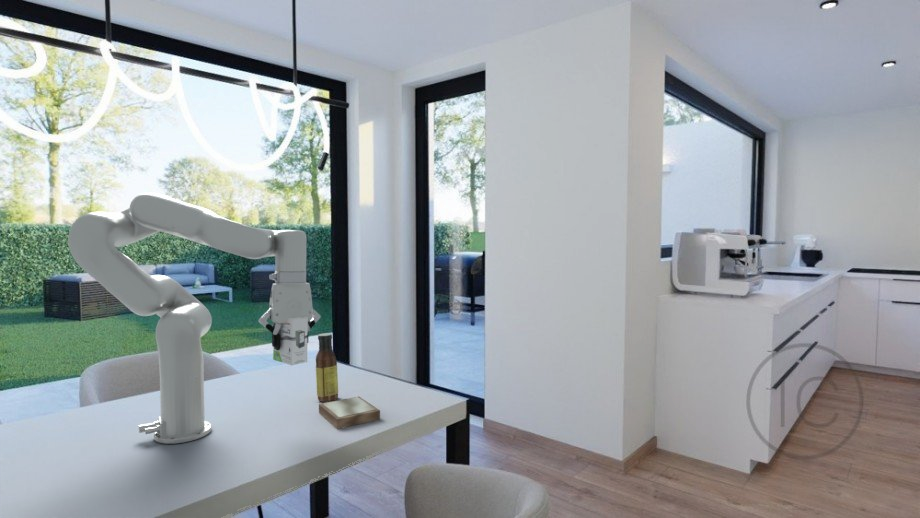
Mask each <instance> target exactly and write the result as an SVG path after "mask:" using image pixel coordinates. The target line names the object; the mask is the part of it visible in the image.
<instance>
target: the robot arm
mask: <svg viewBox="0 0 920 518" xmlns="http://www.w3.org/2000/svg"><path fill="white" fill-rule="evenodd" d="M160 232H161V233H165V234H167V235H172V236H176V237H179V238H181V239H185V240H188V241H191V242H194V243H197V244H199V245H203V246H208V247H210V248H213V249H216V250H219V251H222V252H225V253H229V254H232V255H236V256H239V257H242V258H246V259H250V260H260V259H264V258H269V257H274V259H275V260H274V261H275V265H274V268H275V270H274V273H270V274H269V275H268V276H269V280H272V281H274V282H275V283H272V285H271V290H270V296H269V304H268V305H269V306H268V310H267V311H265V312H264V313H263V315H261V316H260V318H259V319H258V322H259V324H261V325H262V326H263V327H264V328H265V329H266V330H268V331H269V332H270V333H271V346H272V348H273V347H274V349H276V350H280V335H279V329H280V327H281V324H286V323H287V319H289V318H298V317H307V318H308V334H307V344H309V332H311V329H312V328H313V327H314V326H315V325H316V324H317V322H318V321H319V320H320V319H321V317H322V316H321V314H320V313H318V312H317V311H316V310H315V309H314V308H313V299H312V298H313V297H312V289H311V285H310V282H307V235H306V234H307V233H306V232H305V231H304V230H299V229H280V230H275V229H266V228H261V227H253V226H249V225H248V224H244V223H240V222H237V221H233V220H230V219H227V218H225V217H222V216H220V215H218V214H216V213H214V212H213V211H212V210H209V209H207V208H204V207H201V206H198V205H194V204H191V203H187V202H184V201H181V200H178V199H175V198H172V197H171V196H168V195H165V194H162V193H161V194H160V193H157V192H156V193H155V192H144V193H143V192H142V193H139V194H138V195H136V196H135V197H134V198H133V199H132V201H130V204H129V207H127V208H126V209H123V210H121V211H118V212H107V211H94V212H88V213H85V214H83V215H80V216H79V217H78V218H76V219H75V220H74V222H73V223H72V224H71V226H70V229H69V231H68V238H67V240H68V241H67V242H68V248H69V252H70V254H71V256H72V258H73V260H74V261H75V262H76V264H77V265H78V266H79V267H80V268H81V269H82V270H83V271H84V272H85V273H86V274H88V276H90V277H92V278H93V280H95V281H96V282H97V283H99V284H100V285H101V286H102V287H103V288H104V289H105V290H106V291H107V292H108V293H110V294H111V295H112V296H113V297H115V299H117V300H118V301H119V302H120V303H121V304H123V305H124V306H125V308H127V309H128V310H129V311H130V312H132V313H133V314H135V315H138V316H141V317H149V316H153V315H157V316H158V317H159V320H158V321H157V324H156V327H155V340H156V342H155V343H156V347H157V351H158V366H159V367H158V368H159V391H160V392H159V393H160V394H159V395H160V397H159V400H160V415H159V416H158V420H154V421H153V422H150V423H143V424H142V423H141V424H138V433H139V434H142V433H145V435H148V434H149V435H150V434H152V433H153V440H154V441H155V442H156V443H159V444H166V445H168V444H169V445H170V444H171V445H172V444H173V445H174V444H182V443H188V442H193V441H195V440H198V439H201V438H204V437H205V436H207V435H208V434H210V432H211V431H212V428H213V427H212V424H211V423H210V422H209V421H207V420H205V383H204V381H205V379H204V378H205V377H204V373H205V372H204V355H203V346H202V342H201V338H202V337H203V336H204V335H206V334H207V333H208V331H210V329H211V326H212V322H213V317H212V314H211V313H210V311H209V309H208V308H207V307H206V306H205V305H204V304H203V302H201V301H200V300H199V299H197V298H196V297H195V296H194V295H193V294H192V293H191V292H190V291H188V290H187V288H185V287H184V286H182V285H181V283H179V282H178V281H177V280H175V279H174V278H171V277H169V276H166V275H162V274H153V275H151V274H150V273H148V272H147V271H145V269H143V268H142V267H141V266H139V265H138V264H137V263H136V262H135V261H134V260H133V259H131V258H130V257H129V256H127V255H125V254H124V253H123V252H121V251H120V250H119V249H118V248H119V247H125V246H129V245H132V244H134V243H137V242H139V241H142V240H143V239H145V238H148V237H151V236H154V235H156V234H158V233H160ZM268 319H269V320H270V321H271V322H273V323H272V324H270V322H268Z"/></svg>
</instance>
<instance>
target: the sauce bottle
mask: <svg viewBox="0 0 920 518" xmlns="http://www.w3.org/2000/svg"><path fill="white" fill-rule="evenodd" d="M317 339H318V351H317V354H316V355H315V377H316V396H317V400H318V401H319V402H324V403H327V402H332V401H337V400H338V398H339V381H338V380H339V378H338V362H337V357H336V354H335V352H334V350H333V346H332V339H333V333H329V332H326V333H319V334H318V335H317Z"/></svg>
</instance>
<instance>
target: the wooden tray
mask: <svg viewBox="0 0 920 518" xmlns="http://www.w3.org/2000/svg"><path fill="white" fill-rule="evenodd" d="M318 413H319V414H320V415H321V416H322V417H323V419H325V420H327V422H329V424H331V425H332V426H333V427H335V428H336V429H337V430H338V429H339V430H340V429H343V428H344V429H345V428H347V427H352V426H358V425H361V424H366V423H369V422H370V423H371V422H373V421H374V422H375V421H379V420H381V410H380V409H378V408H377V407H376V406H374V405H373V404H371V403H369V402H368V401H367V400H365V399H364V398H363V397H360V396H354V397H349V398H344V399H340V400H339V399H336V400H333V401H329V402H324V403H323V402H322V403H319V404H318Z"/></svg>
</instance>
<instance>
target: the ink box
mask: <svg viewBox="0 0 920 518" xmlns="http://www.w3.org/2000/svg"><path fill="white" fill-rule="evenodd" d="M308 322H309V321H308V318H307V317H298V318H289V319H287V323H286V324H281V327H280V329H279V335H280V350H276V349H274V347H273V346H272V348H273V353H272V356H273V357H272V359H273V361H275V362H279V363H283V364H286V365H289V366H295V365H299V364H304V363H308V343H307V334H308V335H309V332H308Z"/></svg>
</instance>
